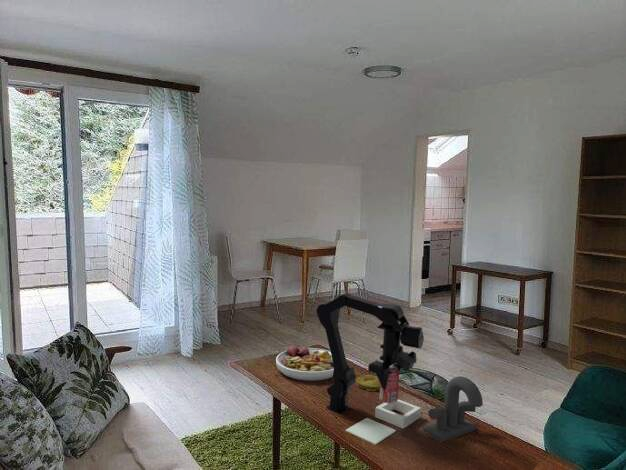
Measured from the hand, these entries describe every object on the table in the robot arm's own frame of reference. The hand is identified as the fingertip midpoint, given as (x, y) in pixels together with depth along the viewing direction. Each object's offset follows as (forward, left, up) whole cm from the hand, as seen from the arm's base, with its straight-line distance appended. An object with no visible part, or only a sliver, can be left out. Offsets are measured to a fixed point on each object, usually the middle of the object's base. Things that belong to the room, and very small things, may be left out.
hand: (389, 386), depth 162 cm
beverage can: (0, 0, -5) cm, 5 cm away
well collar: (+6, -1, -13) cm, 14 cm away
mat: (-9, 0, -13) cm, 16 cm away
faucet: (+10, -22, -13) cm, 27 cm away
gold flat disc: (+22, +22, -13) cm, 34 cm away
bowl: (+16, +51, -13) cm, 55 cm away
